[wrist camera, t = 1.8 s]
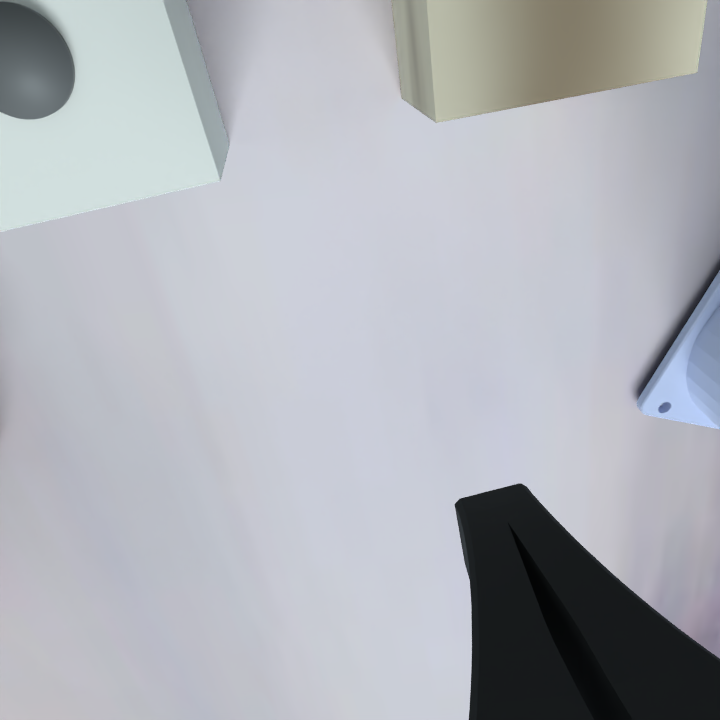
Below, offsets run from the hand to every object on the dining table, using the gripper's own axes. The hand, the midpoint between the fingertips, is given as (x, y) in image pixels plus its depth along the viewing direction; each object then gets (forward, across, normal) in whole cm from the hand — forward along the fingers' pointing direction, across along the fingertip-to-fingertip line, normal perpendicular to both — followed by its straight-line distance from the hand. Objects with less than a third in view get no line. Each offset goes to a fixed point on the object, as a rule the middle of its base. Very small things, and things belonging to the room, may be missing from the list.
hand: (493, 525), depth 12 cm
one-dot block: (+10, +7, -10) cm, 15 cm away
